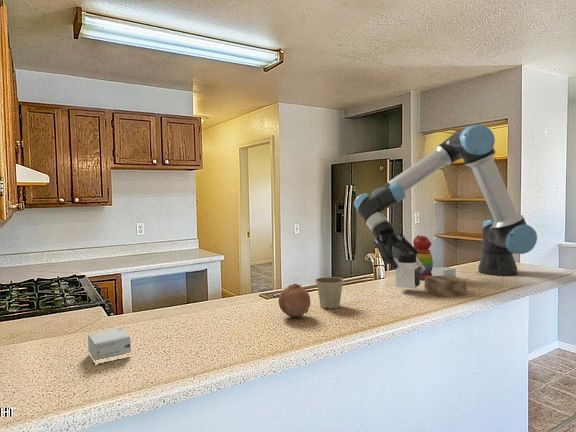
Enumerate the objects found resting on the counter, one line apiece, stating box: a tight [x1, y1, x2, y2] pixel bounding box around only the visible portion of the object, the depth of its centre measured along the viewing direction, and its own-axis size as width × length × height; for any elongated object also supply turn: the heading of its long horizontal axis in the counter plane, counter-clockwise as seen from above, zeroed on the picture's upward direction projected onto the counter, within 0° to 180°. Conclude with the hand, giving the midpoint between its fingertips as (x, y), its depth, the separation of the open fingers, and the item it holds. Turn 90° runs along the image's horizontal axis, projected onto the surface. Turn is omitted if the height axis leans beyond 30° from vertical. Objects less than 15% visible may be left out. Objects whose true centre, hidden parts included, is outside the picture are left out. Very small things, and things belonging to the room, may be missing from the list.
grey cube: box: [431, 266, 457, 277], centre depth 158 cm, size 6×6×6 cm
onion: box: [278, 283, 311, 318], centre depth 119 cm, size 10×9×10 cm
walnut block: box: [424, 275, 467, 298], centre depth 145 cm, size 10×10×5 cm
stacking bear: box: [412, 234, 434, 281], centre depth 170 cm, size 11×10×18 cm
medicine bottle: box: [394, 252, 421, 289], centre depth 147 cm, size 7×7×12 cm
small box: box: [87, 327, 132, 361], centre depth 94 cm, size 8×8×5 cm
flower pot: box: [314, 276, 345, 310], centre depth 130 cm, size 9×9×9 cm
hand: (413, 273), depth 145 cm, fingers closed on medicine bottle, 9 cm apart
